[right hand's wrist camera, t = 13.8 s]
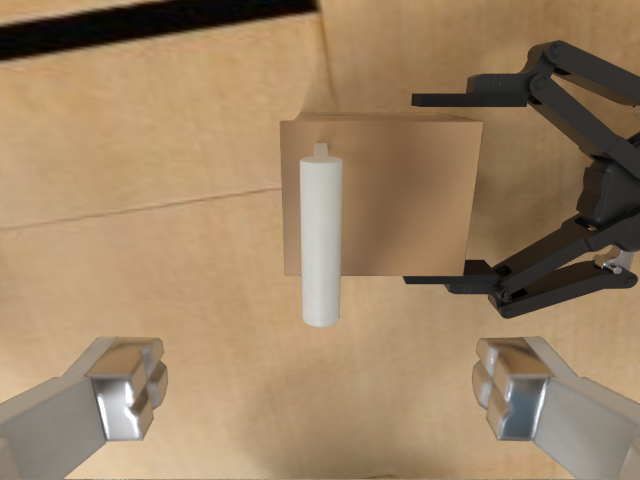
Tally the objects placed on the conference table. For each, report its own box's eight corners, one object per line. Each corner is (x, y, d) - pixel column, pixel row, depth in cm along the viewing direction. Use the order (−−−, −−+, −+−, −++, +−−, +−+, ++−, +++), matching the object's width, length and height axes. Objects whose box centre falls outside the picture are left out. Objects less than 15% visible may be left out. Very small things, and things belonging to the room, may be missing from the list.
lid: (285, 269, 28) (270, 346, 19) (281, 120, 24) (259, 135, 16) (458, 270, 28) (517, 347, 19) (477, 120, 24) (560, 135, 16)
